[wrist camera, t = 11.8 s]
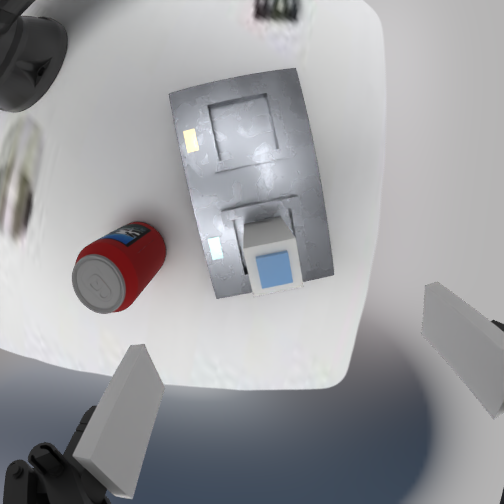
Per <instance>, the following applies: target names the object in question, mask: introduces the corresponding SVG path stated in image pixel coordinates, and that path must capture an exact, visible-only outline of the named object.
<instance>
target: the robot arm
mask: <svg viewBox="0 0 504 504" xmlns="http://www.w3.org/2000/svg"><path fill="white" fill-rule="evenodd" d="M34 1H35V0H0V110H2V111H7V112H20V111H23V110H25V109H27V108H29V107H30V106H32V105H33V104H34V103H35V102H36V101H37V100H39V99H40V98H41V96H42V95H43V94H44V93H45V92H46V91H47V89H48V88H49V87H50V85H51V84H52V82H53V80H54V79H55V77H56V75H57V73H58V72H59V69H60V67H61V65H62V62H63V60H64V57H65V53H66V48H67V34H66V31H65V29H64V27H63V26H62V25H61V24H60V23H58V22H57V21H55V20H53V19H51V18H48V17H38V18H37V17H32V16H20V15H21V14H22V13H23V12H24V11H25V10H26V9H27V8H28V7H29V6H30V5H31V4H32V3H33V2H34ZM421 334H422V335H423V336H424V338H425V339H426V340H427V341H428V342H429V343H430V344H431V345H432V346H433V347H434V348H435V350H436V351H437V352H438V353H439V354H440V355H441V356H442V358H443V359H444V360H445V361H446V362H447V363H448V365H449V366H450V367H451V368H452V369H453V370H454V371H455V373H456V374H457V375H458V376H459V377H460V379H461V380H462V381H463V382H464V383H465V384H466V386H467V387H468V388H469V389H470V391H471V392H472V393H473V394H474V396H475V397H476V398H477V399H478V400H479V402H480V403H481V404H482V406H483V407H484V408H485V409H486V411H487V412H488V413H489V414H490V416H491V417H492V418H493V419H494V420H495V419H496V418H497V417H499V416H500V415H502V414H503V413H504V324H502V323H500V322H497V321H495V320H492V321H489V320H488V319H487V318H485V317H484V316H483V315H482V314H481V313H479V312H478V311H477V310H475V309H474V308H473V307H471V306H470V305H469V304H467V303H466V302H465V301H463V300H462V299H461V298H459V297H458V296H457V295H455V294H454V293H452V292H451V291H450V290H448V289H447V288H446V287H444V286H443V285H441V284H440V283H439V282H435V283H432V284H429V285H425V295H424V311H423V322H422V332H421ZM164 390H165V387H164V385H163V383H162V381H161V379H160V377H159V374H158V372H157V370H156V368H155V366H154V364H153V362H152V360H151V358H150V355H149V353H148V351H147V349H146V347H145V344H140V345H131V346H130V347H129V349H128V350H127V352H126V354H125V356H124V357H123V359H122V361H121V363H120V365H119V366H118V368H117V370H116V372H115V374H114V375H113V377H112V379H111V381H110V383H109V385H108V387H107V388H106V390H105V392H104V394H103V396H102V398H101V400H100V401H99V403H98V405H97V406H92V407H91V408H90V409H89V410H88V411H87V412H86V413H85V414H84V416H83V418H82V419H81V421H80V424H79V426H78V427H77V429H76V432H75V433H74V435H73V436H72V439H71V440H70V442H69V444H68V446H67V448H66V450H65V452H64V454H63V455H62V454H61V453H60V452H59V451H58V450H57V449H56V447H55V446H54V445H52V444H51V443H46V442H44V443H40V444H38V445H36V446H35V447H34V448H33V449H32V450H31V452H30V454H29V456H28V462H29V463H30V464H31V465H32V466H33V467H34V468H31V467H30V466H29V465H28V464H27V463H26V462H25V461H23V460H16V461H14V462H12V463H11V464H10V465H9V466H8V468H7V471H6V476H5V485H4V496H3V504H111V502H110V500H109V499H108V498H107V496H105V493H106V491H107V489H108V490H109V491H110V492H111V493H112V494H113V495H115V496H117V497H123V498H128V499H133V495H134V492H135V488H136V484H137V481H138V477H139V473H140V470H141V466H142V463H143V459H144V456H145V452H146V448H147V445H148V442H149V438H150V435H151V432H152V428H153V425H154V422H155V419H156V415H157V412H158V409H159V405H160V402H161V399H162V396H163V393H164ZM500 504H504V489H503V493H502V497H501V501H500Z"/></svg>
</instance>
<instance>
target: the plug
mask: <svg viewBox="0 0 504 504" xmlns="http://www.w3.org/2000/svg"><path fill="white" fill-rule="evenodd" d="M243 252H244V257H245V261H246V266H247V270H248V274H249V279H250V283H251V288H252V292H253V296H254V297H256V296H261V295H266V294H271V293H276V292H281V291H286V290H290V289H295V288H300V287H303V280H302V274H301V268H300V261H299V255H298V249H297V243H296V238H295V236H294V235H293V234H292V232H291V231H290V229H289V228H288V226H287V225H286V223H285V222H284V221H283V219H282V218H281V216H280V217H275V218H270V219H265V220H260V221H255V222H250V223H245V224H244V234H243Z"/></svg>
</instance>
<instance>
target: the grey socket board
mask: <svg viewBox="0 0 504 504" xmlns="http://www.w3.org/2000/svg"><path fill="white" fill-rule="evenodd" d="M169 98H170V103H171V108H172V114H173V119H174V124H175V129H176V134H177V138H178V143H179V148H180V153H181V157H182V162H183V166H184V171H185V175H186V180H187V184H188V189H189V193H190V197H191V201H192V206H193V210H194V214H195V218H196V222H197V226H198V230H199V234H200V238H201V242H202V246H203V250H204V254H205V258H206V261H207V265H208V269H209V273H210V276H211V280H212V284H213V287H214V291H215V295H216V298H217V299H219V298H224V297H230V296H235V295H240V294H246V293H251V292H252V288H251V283H250V279H249V274H248V270H247V266H246V261H245V257H244V252H243V234H244V224H245V223H250V222H255V221H260V220H265V219H270V218H275V217H280V216H281V218H282V219H283V221H284V222H285V223H286V225H287V226H288V228H289V229H290V231H291V232H292V234H293V235H294V236H295V238H296V243H297V249H298V255H299V261H300V268H301V274H302V280H303V282H305V281H309V280H314V279H318V278H323V277H327V276H332V275H334V269H333V261H332V253H331V245H330V237H329V230H328V223H327V217H326V210H325V204H324V198H323V192H322V186H321V180H320V174H319V169H318V164H317V158H316V153H315V148H314V143H313V139H312V134H311V129H310V125H309V120H308V116H307V111H306V107H305V103H304V98H303V94H302V90H301V86H300V82H299V78H298V75H297V71H296V68H291V69H283V70H275V71H268V72H262V73H256V74H250V75H244V76H239V77H234V78H229V79H224V80H220V81H215V82H211V83H207V84H203V85H199V86H195V87H191V88H187V89H184V90H180V91H177V92H173V93H170V94H169Z"/></svg>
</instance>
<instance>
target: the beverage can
mask: <svg viewBox="0 0 504 504" xmlns="http://www.w3.org/2000/svg"><path fill="white" fill-rule="evenodd" d="M165 255H166V249H165V244H164V241H163V238H162V237H161V235H160V234H159V232H158V231H157V230H156V229H155V228H153V227H152V226H150V225H148V224H146V223H142V222H133V223H129V224H127V225H125V226H123V227H121V228H119V229H117V230H115V231H113V232H111V233H109V234H107V235H105V236H104V237H102V238H100V239H98V240H96V241H95V242H93V243H91V244H89V245H88V246H86V247H85V248H84V249H83V250H82V251H81V252H80V254H79V255H78V257H77V260H76V263H75V266H74V269H73V272H72V284H73V288H74V291H75V293H76V295H77V297H78V298H79V300H80V301H81V302H82V303H83V304H84V305H85V306H86V307H87V308H89V309H90V310H92V311H94V312H97V313H101V314H107V313H111V312H119V311H122V310H125V309H126V308H128V307H129V306H130V305H131V304H132V303H133V302H134V301H135V299H136V298H137V297H138V296H139V294H140V293H141V292H142V291H143V290H144V288H145V287H146V286H147V285H148V283H149V282H150V281H151V279H152V278H153V277H154V276H155V274H156V273H157V272H158V270H159V269H160V268H161V266H162V265H163V263H164V260H165Z"/></svg>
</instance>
